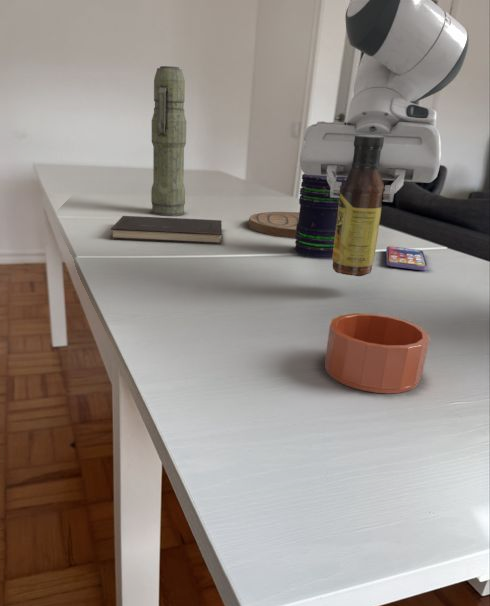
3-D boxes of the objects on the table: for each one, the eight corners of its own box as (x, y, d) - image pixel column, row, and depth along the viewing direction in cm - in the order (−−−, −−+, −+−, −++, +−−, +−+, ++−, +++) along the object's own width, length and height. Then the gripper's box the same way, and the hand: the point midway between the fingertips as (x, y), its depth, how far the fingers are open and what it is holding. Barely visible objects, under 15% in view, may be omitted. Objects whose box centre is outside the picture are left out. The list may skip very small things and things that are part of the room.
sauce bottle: (336, 264, 89) (353, 133, 81) (375, 270, 87) (396, 135, 79) (325, 274, 84) (342, 134, 76) (366, 280, 81) (388, 136, 73)
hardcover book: (221, 244, 115) (221, 233, 114) (111, 239, 114) (110, 228, 114) (220, 229, 129) (221, 219, 128) (123, 225, 129) (123, 215, 128)
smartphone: (422, 254, 114) (427, 271, 101) (385, 250, 116) (385, 266, 103) (423, 250, 114) (428, 267, 100) (386, 245, 116) (386, 261, 102)
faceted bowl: (373, 348, 66) (380, 308, 64) (440, 383, 58) (450, 339, 56) (306, 361, 61) (311, 319, 59) (368, 401, 53) (376, 354, 51)
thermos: (188, 210, 152) (191, 69, 139) (179, 217, 142) (182, 65, 128) (157, 208, 154) (157, 68, 140) (146, 215, 143) (145, 64, 129)
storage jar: (287, 254, 109) (294, 175, 103) (301, 245, 117) (309, 172, 112) (336, 261, 105) (347, 180, 100) (347, 251, 114) (358, 176, 108)
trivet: (339, 221, 147) (340, 214, 146) (361, 241, 124) (362, 233, 123) (246, 217, 147) (247, 209, 146) (250, 236, 124) (251, 227, 123)
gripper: (307, 106, 85) (289, 177, 80) (448, 110, 79) (438, 188, 74) (308, 136, 90) (292, 205, 86) (440, 142, 85) (430, 216, 80)
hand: (361, 197), depth 80 cm, fingers closed on sauce bottle, 6 cm apart
